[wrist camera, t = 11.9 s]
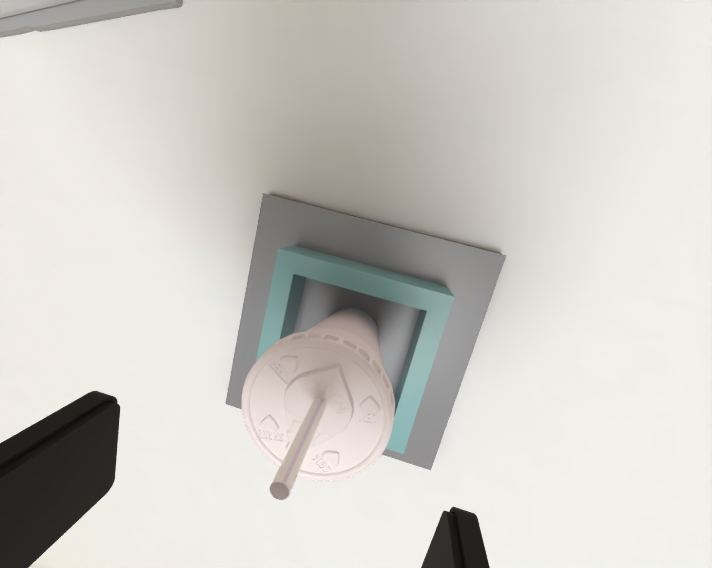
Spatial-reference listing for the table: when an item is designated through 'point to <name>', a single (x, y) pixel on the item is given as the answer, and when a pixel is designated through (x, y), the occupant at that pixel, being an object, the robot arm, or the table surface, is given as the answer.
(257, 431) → the smoothie
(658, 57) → the table surface
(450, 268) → the mount
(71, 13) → the office telephone
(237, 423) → the table surface
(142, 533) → the table surface
